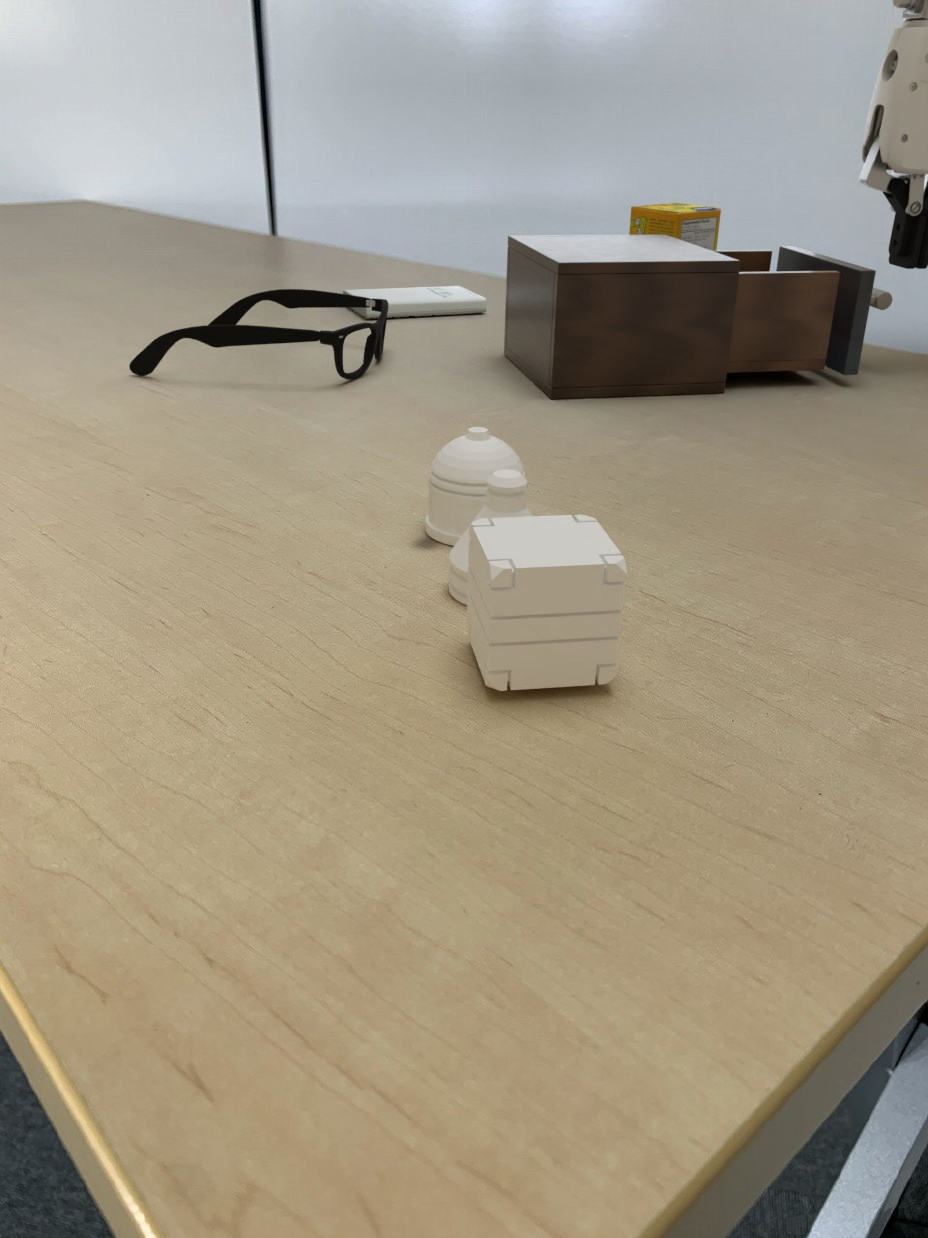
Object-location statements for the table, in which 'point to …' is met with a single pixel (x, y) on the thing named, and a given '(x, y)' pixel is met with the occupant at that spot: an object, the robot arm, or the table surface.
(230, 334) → the glasses
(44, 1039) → the table surface
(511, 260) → the cabinet
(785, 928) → the table surface
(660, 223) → the supplement box
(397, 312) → the hard drive
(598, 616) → the container set
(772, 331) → the drawer
